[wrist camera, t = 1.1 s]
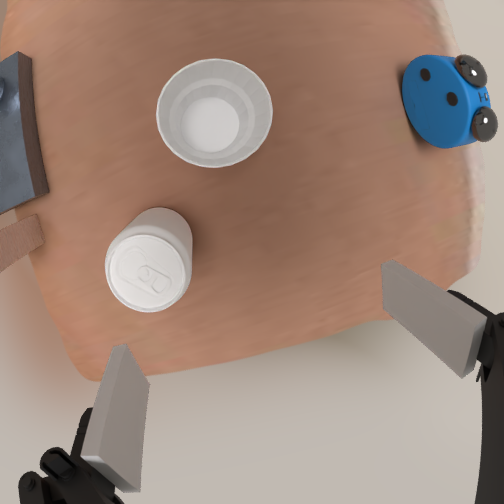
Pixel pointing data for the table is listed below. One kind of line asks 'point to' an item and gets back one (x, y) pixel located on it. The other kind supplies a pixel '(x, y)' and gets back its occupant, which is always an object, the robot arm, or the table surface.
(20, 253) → the grey square peg
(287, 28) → the table surface
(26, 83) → the slotted metal base
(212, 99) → the cup
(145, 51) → the table surface
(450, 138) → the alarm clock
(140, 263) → the beverage can
